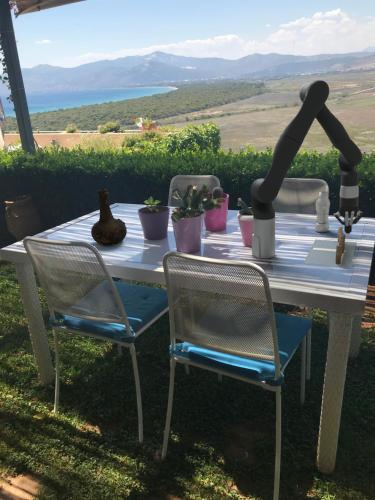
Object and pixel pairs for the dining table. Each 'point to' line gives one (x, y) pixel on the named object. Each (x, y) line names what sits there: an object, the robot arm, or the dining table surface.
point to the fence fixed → (340, 249)
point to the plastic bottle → (322, 213)
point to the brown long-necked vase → (107, 224)
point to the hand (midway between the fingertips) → (347, 233)
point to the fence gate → (340, 232)
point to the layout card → (330, 253)
